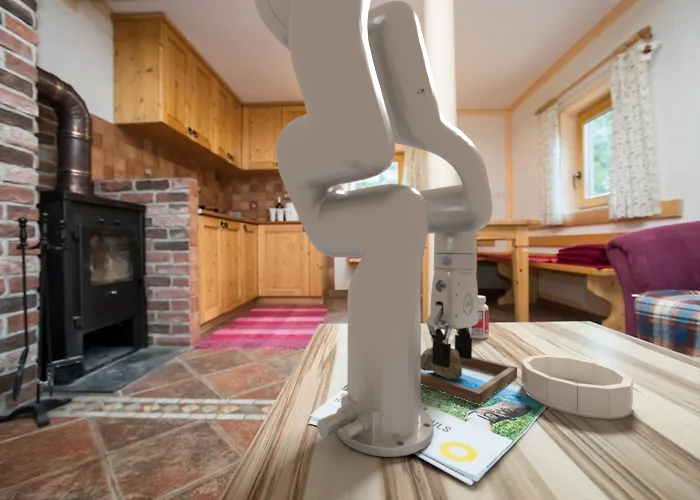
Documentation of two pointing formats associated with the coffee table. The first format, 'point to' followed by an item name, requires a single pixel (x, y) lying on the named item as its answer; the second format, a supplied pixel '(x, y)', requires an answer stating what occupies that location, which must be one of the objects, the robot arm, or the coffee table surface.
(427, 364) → the rock
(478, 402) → the rectangular wooden frame
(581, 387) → the bowl
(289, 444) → the coffee table surface
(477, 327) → the pill bottle
